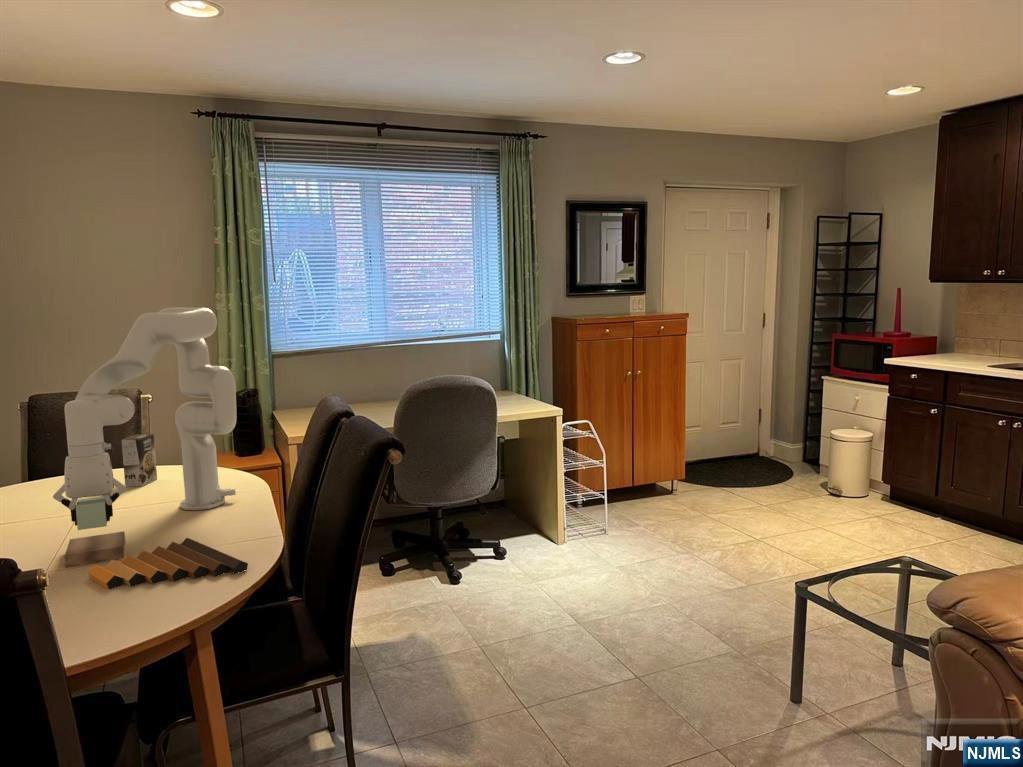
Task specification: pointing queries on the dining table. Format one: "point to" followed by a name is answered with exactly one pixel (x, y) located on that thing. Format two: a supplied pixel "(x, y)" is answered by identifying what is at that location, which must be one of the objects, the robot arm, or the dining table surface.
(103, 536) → the walnut stand
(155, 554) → the pan flute
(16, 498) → the dining table surface
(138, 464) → the coffee box
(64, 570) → the dining table surface
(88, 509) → the sage cube
